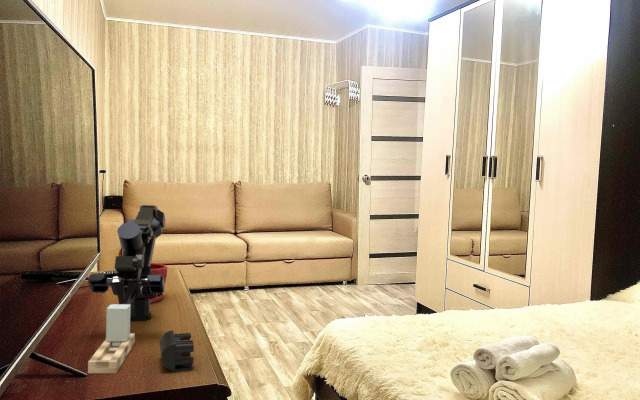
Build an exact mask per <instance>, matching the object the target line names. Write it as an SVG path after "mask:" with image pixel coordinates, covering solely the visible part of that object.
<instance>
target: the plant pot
mask: <svg viewBox="0 0 640 400" xmlns="http://www.w3.org/2000/svg"><path fill="white" fill-rule="evenodd" d="M150 268H151V271H152V274H162V275H163V276H164V283H165V284H166V281H167V275H168V266H167V265H166V264H162V263H158V262H157V263H156V262H155V263H154V262H151V266H150ZM163 296H164V292H163V293H157V297H156V298H153V299H150V303H155V302H158V301H160V300H161V299H162V298H163Z"/></svg>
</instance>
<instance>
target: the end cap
mask: <svg viewBox="0 0 640 400" xmlns="http://www.w3.org/2000/svg"><path fill="white" fill-rule="evenodd" d="M191 338H192V333H190V332H181V333H175V332H174V330H173V329H172V330H169V331H167V332H165V333H164V334H163V335H162V336H161V338H160V340H159V348H160V349H159V351H160V360H161V363H162V365H163V366H164V367H165V368H167V369H168V370H170V371H171V372H174V373H175V372H187V371H193V369H194V356H191V354H192V353H194V347H195V346H194V341H193V340H192V339H191Z"/></svg>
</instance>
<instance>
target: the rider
mask: <svg viewBox="0 0 640 400" xmlns="http://www.w3.org/2000/svg"><path fill="white" fill-rule="evenodd" d="M130 307H131V304H119V303H117V304H116V303H115V304H113V303H112V304H109V306H107V308H106V318H105V319H106V321H105V322H106V323H105V324H106V327H105V330H106V332H105V340H106V341H113V342H112V346H120V345H121V343H122V342H123V341H127V340H128V338H129V337H130V333H131V320H130Z"/></svg>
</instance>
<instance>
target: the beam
mask: <svg viewBox="0 0 640 400" xmlns="http://www.w3.org/2000/svg"><path fill="white" fill-rule="evenodd" d="M135 337H136V336H135V332H130V337H129V338H128V340H127V341H123V342H122V343H121V345H120V346H112V342H113V341H106V339H105V340H104V341H103V342H102V344H100V346H99V347H98V349H97V350H96V351H95V353H94V354H93V355H92V356H91V358H90V359H89V360H88V362H87V374H116V373H117V372H118V371H119V370H120V368H121V366H122V365H123V363H124V361H125V359H126V357H127V356H128V355H129V353H130V351H131V349H132V348H133V346H134V345H135Z"/></svg>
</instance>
